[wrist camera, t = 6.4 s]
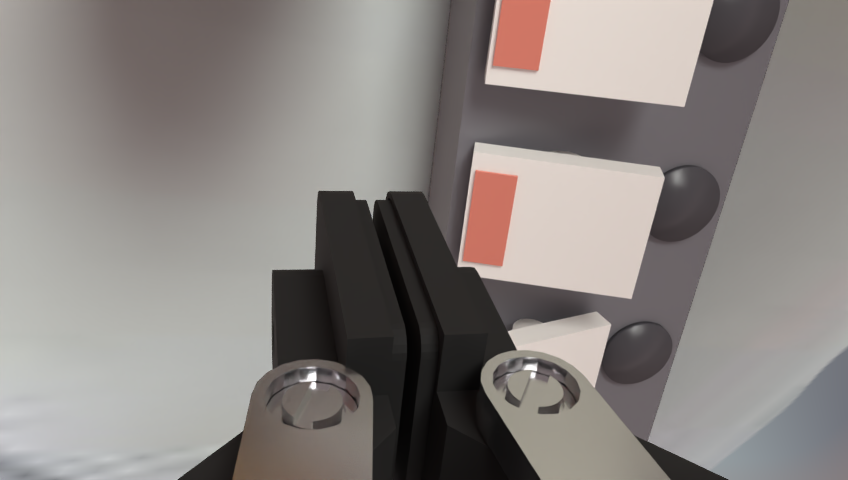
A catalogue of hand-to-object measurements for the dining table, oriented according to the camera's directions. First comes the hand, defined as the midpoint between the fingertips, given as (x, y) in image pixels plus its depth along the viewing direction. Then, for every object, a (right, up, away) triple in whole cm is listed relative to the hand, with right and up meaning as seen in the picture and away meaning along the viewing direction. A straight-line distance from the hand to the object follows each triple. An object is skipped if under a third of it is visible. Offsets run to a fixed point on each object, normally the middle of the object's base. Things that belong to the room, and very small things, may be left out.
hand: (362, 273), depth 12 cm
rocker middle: (+7, +2, +21) cm, 23 cm away
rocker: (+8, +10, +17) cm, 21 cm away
